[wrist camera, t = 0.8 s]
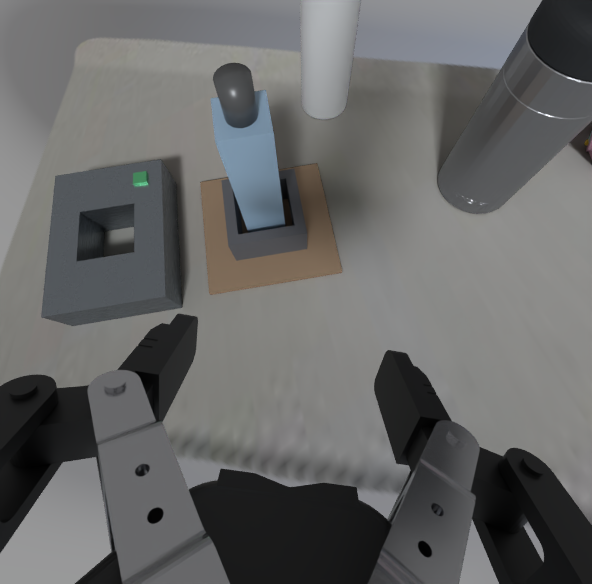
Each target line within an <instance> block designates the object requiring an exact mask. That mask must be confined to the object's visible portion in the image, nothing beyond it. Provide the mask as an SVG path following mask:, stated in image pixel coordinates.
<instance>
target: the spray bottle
mask: <svg viewBox="0 0 592 584" xmlns="http://www.w3.org/2000/svg"><path fill="white" fill-rule="evenodd" d="M360 4H361V0H300V18H301V22H300V23H301V86H302V106H303V109H304V110H305V112H306V113H307V114H308V115H310V116H311V117H313V118H316V119H323V120H325V119H332V118H334V117H337V116H338V115H340V114H341V113H342V112H343V111H344V109H345V107H346V104H347V97H348V90H349V83H350V76H351V69H352V62H353V55H354V47H355V40H356V33H357V26H358V19H359V12H360Z"/></svg>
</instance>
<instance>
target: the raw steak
mask: <svg viewBox="0 0 592 584" xmlns="http://www.w3.org/2000/svg"><path fill="white" fill-rule="evenodd" d="M584 145H587V148H586V152H589V153H590V157H591V159H592V131H591V134H590V137H589V139H587V140H586V141H585V144H584Z"/></svg>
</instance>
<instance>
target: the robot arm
mask: <svg viewBox="0 0 592 584" xmlns="http://www.w3.org/2000/svg"><path fill="white" fill-rule="evenodd" d="M591 121H592V0H542V2H541V4H540V5H539V7H538V8H537V10H536V12H535V13H534V15H533V17H532V18H531V20H530V22H529V24H528V25H527V27H526V29H525V30H524V32H523V33H522V35H521V37H520V38H519V40H518V42H517V43H516V45H515V47H514V48H513V50H512V52H511V53H510V55H509V57H508V58H507V60H506V62H505V64H504V65H503V67H502V69H501V70H500V72H499V74H498V75H497V77H496V78H495V80H494V82H493V83H492V85H491V87H490V88H489V90H488V92H487V93H486V95H485V97H484V98H483V100H482V102H481V103H480V105H479V106H478V108H477V110H476V111H475V113H474V115H473V116H472V118H471V120H470V121H469V123H468V125H467V126H466V128H465V130H464V131H463V133H462V135H461V136H460V138H459V139H458V141H457V143H456V144H455V146H454V148H453V149H452V151H451V152H450V154H449V156H448V157H447V159H446V161H445V162H444V164H443V166H442V167H441V169H440V171H439V175H438V186H439V189H440V191H441V193H442V195H443V196H444V197H445V199H446V200H447V201H448V202H449V203H451V204H452V205H453V206H455V207H457V208H458V209H460V210H463V211H466V212H469V213H476V214H480V213H488V212H492V211H494V210H497V209H499V208H500V207H501V206H502V205H504V204H505V203H506V202H507V201H508V200H509V199H510V198H511V197H512V196H513V195H514V194H515V193H516V192H517V191H518V190H519V189H520V188H522V187H523V186H524V185H525V184H526V183H527V182H528V181H529V180H530V179H531V178H532V177H533V176H534V175H536V174H537V173H538V172H539V171H540V170H541V169H542V168H543V167H544V166H545V165H546V164H547V163H548V162H549V161H550V160H551V159H552V158H553V157H555V156H556V155H557V154H558V153H559V152H560V151H561V150H562V149H563V148H564V147H565V146H566V145H567V144H568V143H569V142H570V141H571V140H572V139H574V138H575V137H576V136H577V135H578V134H579V133H580V132H581V131H582V130H583V129H584V128H585V127H586V126H587V125H588V124H589V123H590V122H591ZM197 326H198V318H197V317H195V316H190V315H184V314H177V315H176V317H175V318H174V319H173V321H172V322H171V323H170V325H169V324H163V323H162V324H160V325H158V326H156V327H154V328H153V329H151V330H150V331H149V332H148V334H147V335H146V336H145V337H144V339H143V340H142V341H141V342H140V343H139V345H138V346H137V347H136V348H135V349H134V350H133V352H132V353H131V354H130V355H129V356H128V358H127V359H126V360H125V361H124V362H123V364H122V365H121V366H120V367H119V368H118V370H115V371H110V372H107V373H104V374H102V375H100V376H98V377H97V378H95V379H94V380H93V381H92V382H91V383H90V385H88V386H80V387H67V388H57V387H56V382H55V380H54V379H53V378H51V377H49V376H46V375H28V376H23V377H19V378H16V379H13V380H11V381H9V382H7V383H5V384H3V385H2V386H0V552H1V551H2V550H3V548H4V547H5V546H6V544H7V543H8V541H9V540H10V538H11V537H12V535H13V534H14V532H15V531H16V529H17V528H18V527H19V525H20V524H21V522H22V521H23V519H24V518H25V516H26V515H27V514H28V512H29V511H30V509H31V508H32V506H33V505H34V503H35V502H36V500H37V499H38V497H39V496H40V494H41V493H42V492H43V490H44V489H45V487H46V486H47V484H48V483H49V481H50V480H51V479H52V477H53V476H54V474H55V472H56V471H57V470H58V468H59V467H60V465H61V464H62V463H63V462H65V461H73V460H79V459H85V458H92V457H96V460H97V466H98V471H99V478H100V483H101V490H102V495H103V501H104V507H105V514H106V520H107V527H108V533H109V540H110V546H111V553H110V554H109V555H108V556H107V557H105V558H104V559H103V560H102V561H101V562H100V563H98V564H97V565H96V566H95V567H94V568H93V569H91V570H90V571H89V572H88V573H87V574H86V575H84V576H83V577H82V578H81V579H80V580H79V581H77V582H76V583H75V584H459V580H460V575H461V570H462V565H463V560H464V555H465V550H466V545H467V540H468V535H469V530H470V526H471V520H473V522H474V524H475V526H476V529H477V532H478V534H479V536H480V539H481V541H482V543H483V546H484V548H485V550H486V553H487V555H488V558H489V560H490V563H491V565H492V567H493V570H494V572H495V575H496V577H497V579H498V582H499V584H592V525H591V524H590V522H589V521H588V520H587V518H586V517H585V516H584V514H583V513H582V511H581V510H580V509H579V507H578V506H577V505H576V503H575V502H574V501H573V499H572V498H571V496H570V495H569V494H568V492H567V491H566V490H565V488H564V487H563V486H562V484H561V483H560V481H559V480H558V479H557V477H556V476H555V475H554V473H553V472H552V471H551V469H550V468H549V467H548V466H547V465H546V464H545V463H544V462H542V461H541V460H540V459H539V458H537V457H536V456H534V455H533V454H531V453H529V452H527V451H525V450H522V449H518V448H510V449H509V450H507V452H506V453H505V455H504V456H500V455H498V454H496V453H493V452H491V451H488V450H486V449H483V448H481V447H479V444H478V442H477V440H476V439H475V437H474V436H473V435H472V434H471V433H470V432H469V431H468V430H466V429H465V428H464V427H462V426H461V425H459V424H457V423H455V422H452V421H451V419H450V417H449V415H448V414H447V412H446V410H445V408H444V406H443V405H442V403H441V401H440V399H439V397H438V396H437V395H436V392H435V390H434V388H433V387H432V385H431V383H430V381H429V380H428V378H427V376H426V375H425V374H424V373H423V372H422V371H421V370H420V369H419V368H418V367H415V366H413V364H412V362H411V360H410V358H409V356H408V355H407V354H406V353H403V352H397V351H391V350H388V351H387V352H386V353H385V355H384V358H383V360H382V363H381V365H380V368H379V370H378V373H377V376H376V378H375V383H374V391H375V395H376V398H377V401H378V405H379V408H380V411H381V414H382V418H383V421H384V424H385V427H386V431H387V434H388V437H389V440H390V444H391V447H392V450H393V453H394V457H395V460H396V463H397V464H404V465H409V467H410V470H411V471H410V473H409V474H408V476H407V478H406V481H405V483H404V485H403V487H402V489H401V491H400V493H399V496H398V498H397V500H396V502H395V505H394V506H393V509H392V511H391V513H390V515H389V517H388V519H386V518H385V517H384V516H383V515H381V514H380V513H379V512H378V511H377V510H375V509H374V508H372V507H371V506H369V505H367V504H366V503H364V502H362V501H360V500H358V494H357V488H356V487H351V486H344V485H336V484H329V483H319V484H312V485H304V486H297V487H287V486H284V485H282V484H279V483H277V482H275V481H272V480H270V479H267V478H265V477H263V476H260V475H258V474H255V473H249V472H242V471H234V470H227V469H221V470H220V474H219V478H218V480H217V481H211V482H207V483H203V484H200V485H198V486H195V487H193V488H191V489H189V490H188V487H187V485H186V482H185V479H184V477H183V474H182V472H181V469H180V466H179V464H178V461H177V459H176V456H175V453H174V451H173V448H172V446H171V443H170V441H169V438H168V435H167V433H166V430H165V428H164V425H163V423H162V422H163V420H164V418H165V416H166V414H167V412H168V410H169V408H170V406H171V404H172V402H173V400H174V398H175V396H176V394H177V392H178V390H179V388H180V386H181V384H182V382H183V380H184V378H185V376H186V374H187V372H188V370H189V368H190V366H191V364H192V362H193V359H194V356H195V352H196V341H197ZM527 522H529V524H530V525H531V527H532V529H533V531H534V532H535V534H536V536H537V538H538V539H539V541H540V543H541V545H542V548H543V552H544V562H543V561H542V560H541V558H540V556H539V554H538V553H537V551H536V549H535V547H534V545H533V543H532V542H531V540H530V538H529V536H528V534H527V533H526V530H525V529H524V527H523V526H524V525H525V524H526V523H527Z"/></svg>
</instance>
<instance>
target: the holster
mask: <svg viewBox="0 0 592 584" xmlns="http://www.w3.org/2000/svg"><path fill="white" fill-rule="evenodd" d="M278 172H279V179H280V187H281V195H282V203H283V211H284V219H285V227H281V228H275V229H269V230H263V231H257V232H251V233H248V230H247V227H246V224H245V222H244V219H243V216H242V213H241V211H240V208H239V205H238V202H237V200H236V197H235V194H234V192H233V189H232V186H231V183H230V181H229V178H223V179H216V180H210V181H204V182H200V183H201V195H202V208H203V220H204V233H205V245H206V258H207V270H208V283H209V293H210V294H211V295H213V294H219V293H224V292H230V291H236V290H242V289H248V288H254V287H260V286H266V285H272V284H278V283H284V282H290V281H296V280H302V279H308V278H314V277H320V276H326V275H332V274H338V273H342V268H341V264H340V260H339V255H338V251H337V247H336V242H335V238H334V234H333V229H332V225H331V221H330V216H329V212H328V208H327V203H326V199H325V195H324V191H323V186H322V182H321V178H320V173H319V169H318V165H317V163H316V164H310V165H304V166H298V167H291V168H285V169H279V170H278Z"/></svg>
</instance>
